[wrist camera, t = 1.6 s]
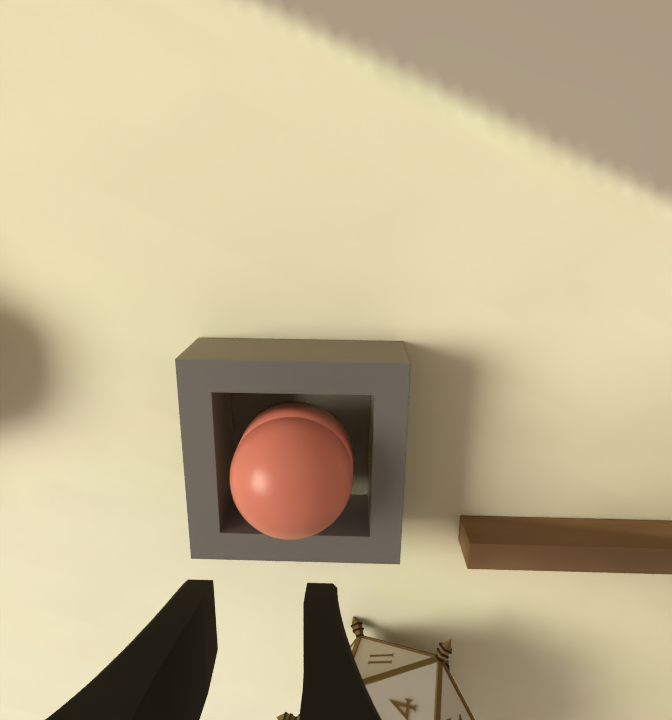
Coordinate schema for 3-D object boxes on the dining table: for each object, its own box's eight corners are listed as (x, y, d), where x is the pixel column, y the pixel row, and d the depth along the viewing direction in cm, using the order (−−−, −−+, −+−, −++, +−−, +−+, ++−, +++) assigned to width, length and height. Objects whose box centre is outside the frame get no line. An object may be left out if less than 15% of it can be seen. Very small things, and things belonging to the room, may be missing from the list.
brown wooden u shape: (709, 796, 28) (735, 840, 26) (436, 786, 29) (442, 828, 27) (789, 523, 24) (828, 552, 22) (460, 515, 24) (469, 543, 22)
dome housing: (394, 520, 24) (400, 563, 21) (210, 515, 24) (191, 558, 21) (402, 341, 22) (410, 363, 19) (198, 337, 22) (175, 359, 19)
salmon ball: (352, 498, 22) (351, 569, 18) (244, 495, 22) (220, 565, 18) (354, 397, 21) (354, 448, 17) (240, 395, 21) (212, 445, 17)
